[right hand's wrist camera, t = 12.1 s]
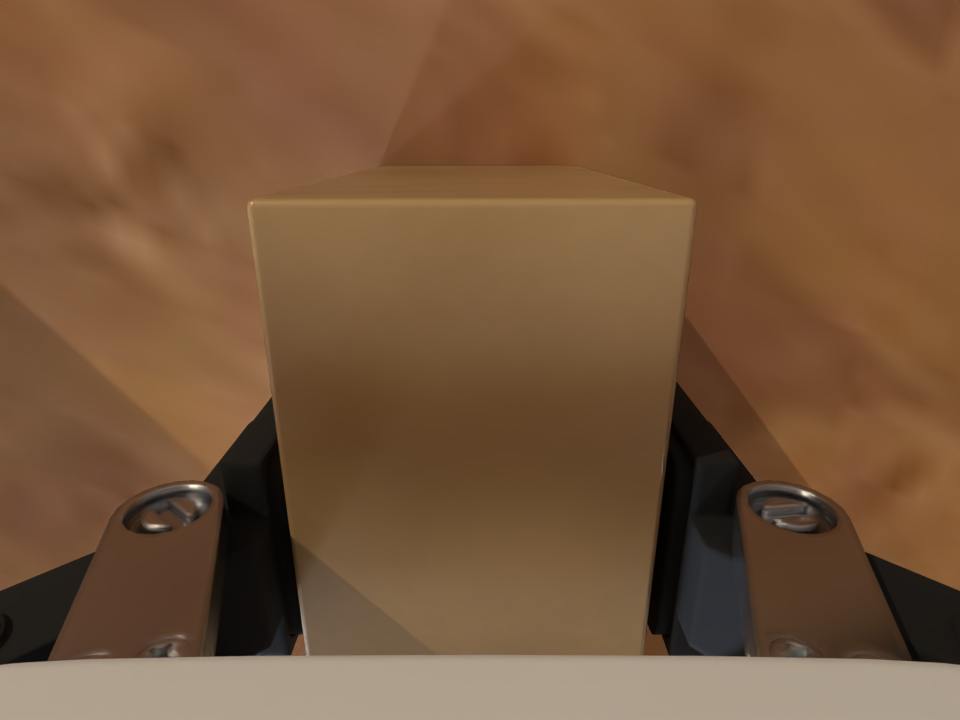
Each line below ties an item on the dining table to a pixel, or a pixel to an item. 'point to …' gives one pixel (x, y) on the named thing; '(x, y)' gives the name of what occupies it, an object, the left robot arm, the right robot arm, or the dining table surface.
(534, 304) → the post
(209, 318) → the dining table surface
